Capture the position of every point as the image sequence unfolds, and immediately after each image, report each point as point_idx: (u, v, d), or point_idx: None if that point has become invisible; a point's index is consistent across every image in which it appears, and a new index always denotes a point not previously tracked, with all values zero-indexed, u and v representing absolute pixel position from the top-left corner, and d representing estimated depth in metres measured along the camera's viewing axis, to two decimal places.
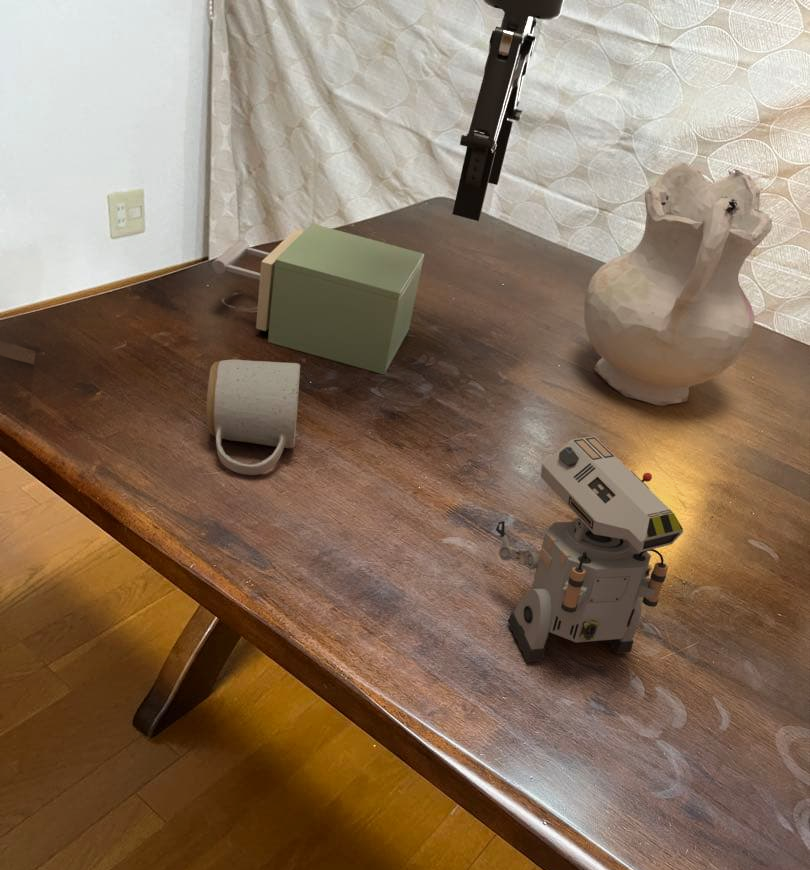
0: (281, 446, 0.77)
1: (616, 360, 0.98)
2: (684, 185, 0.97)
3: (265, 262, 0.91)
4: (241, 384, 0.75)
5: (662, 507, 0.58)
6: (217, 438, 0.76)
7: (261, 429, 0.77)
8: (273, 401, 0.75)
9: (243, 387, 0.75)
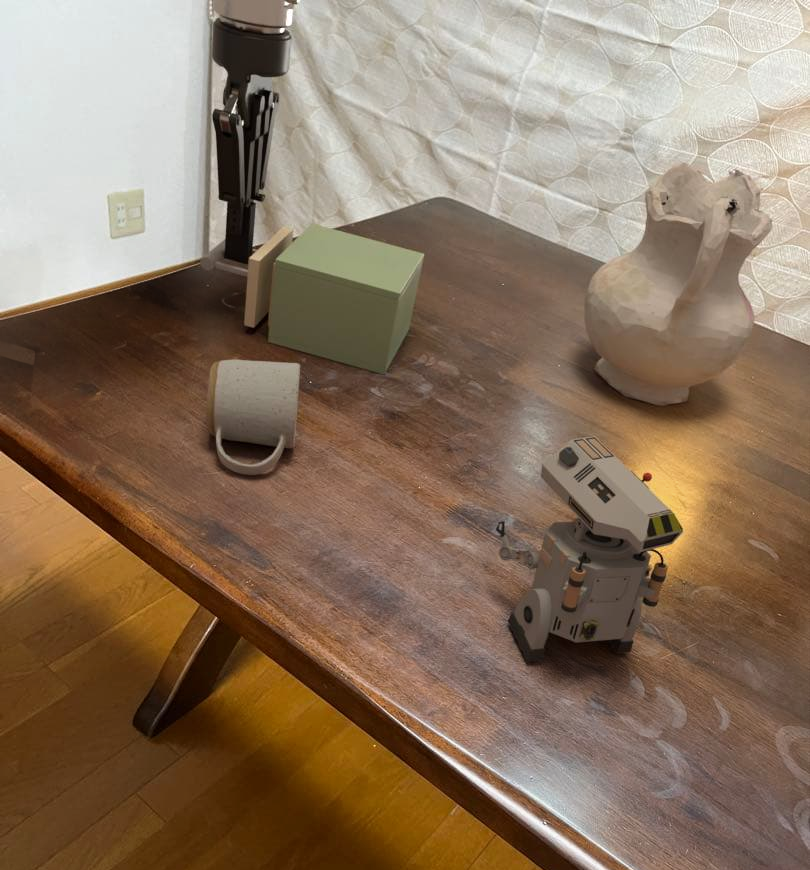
0: (281, 446, 0.77)
1: (616, 360, 0.98)
2: (685, 185, 0.97)
3: (253, 259, 0.91)
4: (241, 384, 0.75)
5: (662, 507, 0.58)
6: (217, 438, 0.76)
7: (261, 429, 0.77)
8: (273, 401, 0.75)
9: (243, 387, 0.75)
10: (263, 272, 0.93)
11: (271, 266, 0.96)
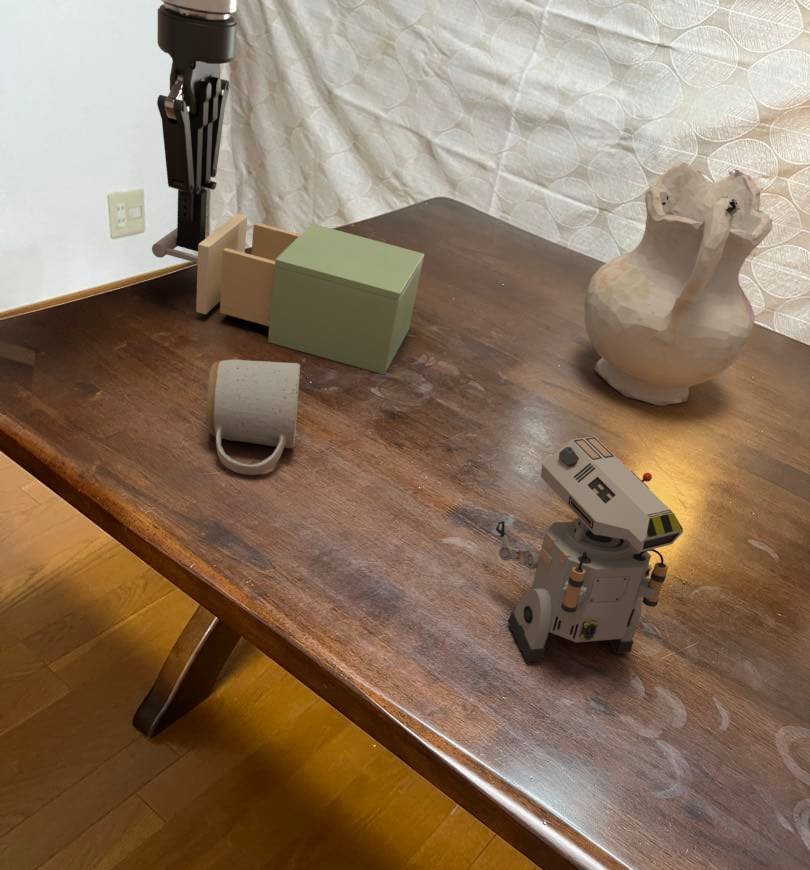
0: (281, 446, 0.77)
1: (616, 360, 0.98)
2: (685, 185, 0.97)
3: (202, 245, 0.92)
4: (241, 384, 0.75)
5: (662, 507, 0.58)
6: (217, 438, 0.76)
7: (261, 429, 0.77)
8: (273, 401, 0.75)
9: (243, 387, 0.75)
10: (213, 258, 0.94)
11: (223, 253, 0.96)
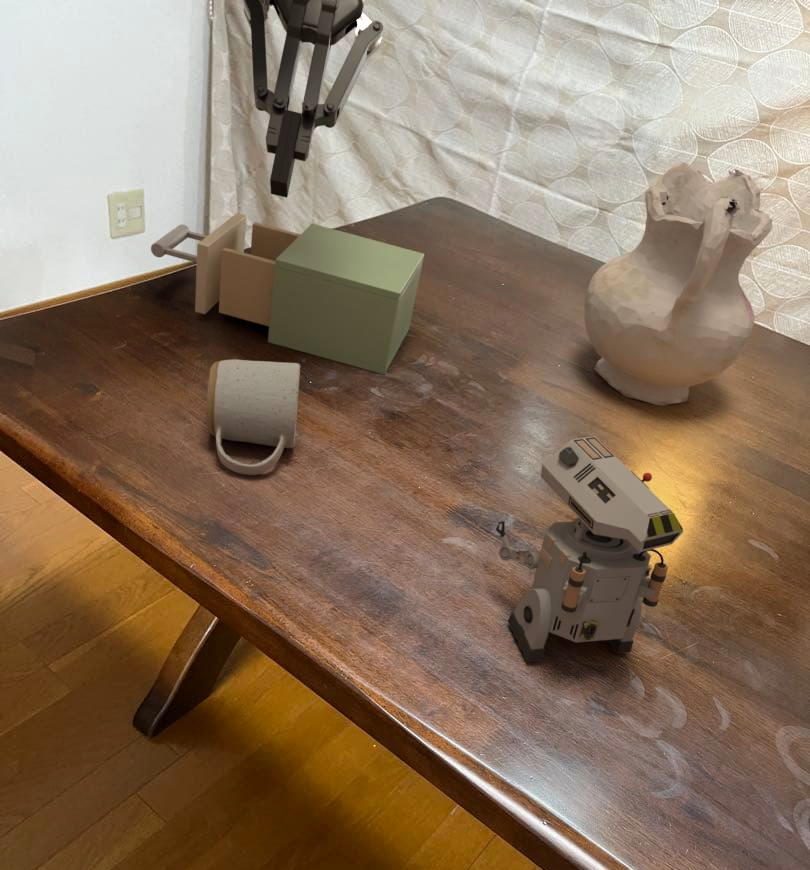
0: (281, 446, 0.77)
1: (616, 360, 0.98)
2: (685, 185, 0.97)
3: (201, 244, 0.92)
4: (241, 384, 0.75)
5: (662, 507, 0.58)
6: (217, 438, 0.76)
7: (261, 429, 0.77)
8: (273, 401, 0.75)
9: (243, 387, 0.75)
10: (212, 258, 0.94)
11: (222, 252, 0.96)
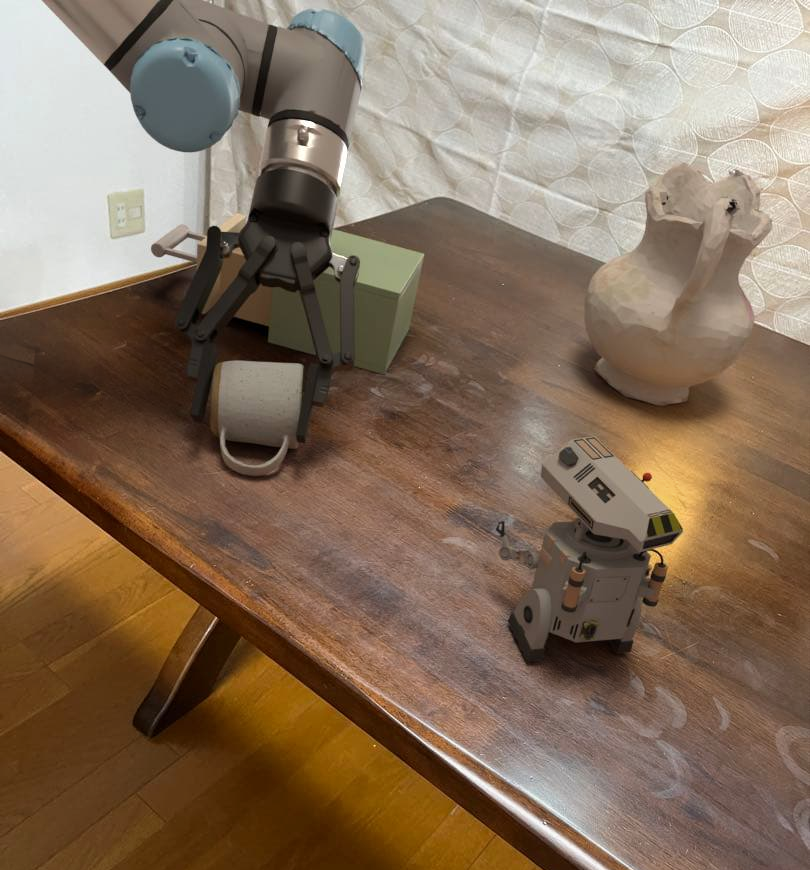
0: (285, 447, 0.77)
1: (616, 360, 0.98)
2: (685, 185, 0.97)
3: (201, 244, 0.92)
4: (245, 385, 0.75)
5: (662, 507, 0.58)
6: (221, 439, 0.76)
7: (265, 430, 0.77)
8: (277, 401, 0.76)
9: (247, 388, 0.75)
10: None
11: None
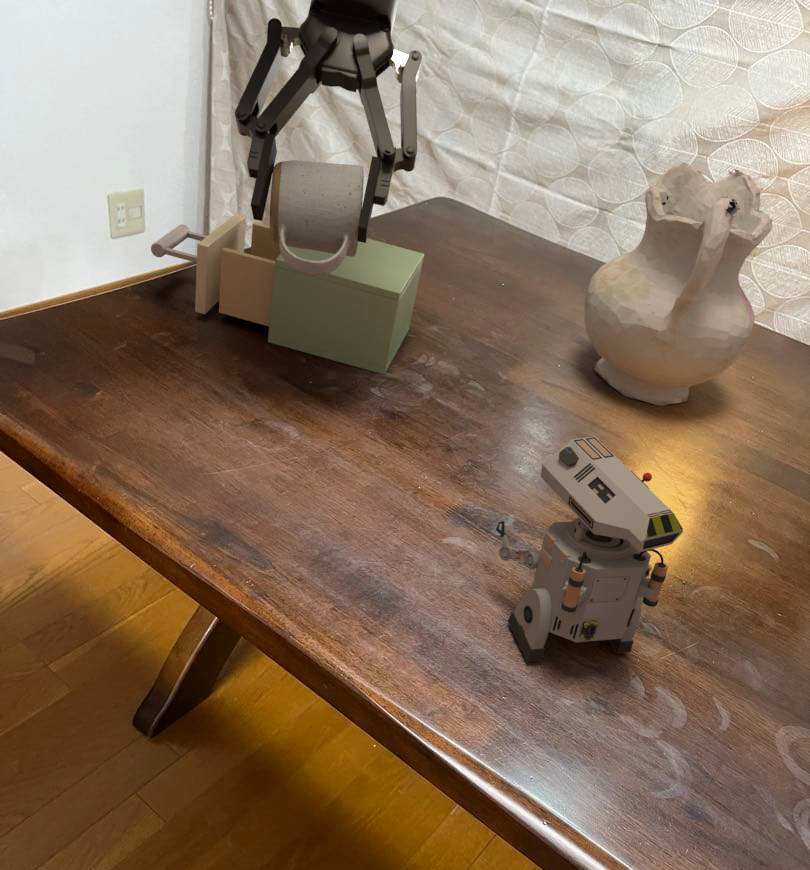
0: (346, 246, 0.75)
1: (616, 360, 0.98)
2: (685, 185, 0.97)
3: (201, 244, 0.92)
4: (306, 180, 0.74)
5: (662, 507, 0.58)
6: (281, 236, 0.75)
7: (325, 228, 0.75)
8: (338, 196, 0.74)
9: (308, 182, 0.74)
10: (212, 258, 0.94)
11: (222, 252, 0.96)
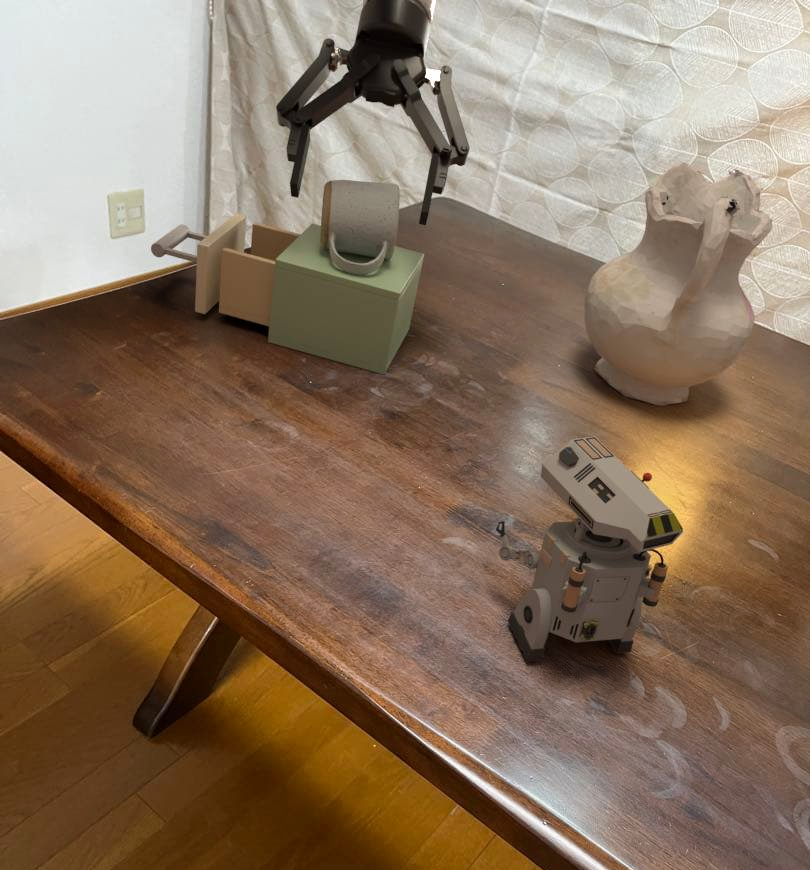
0: (385, 250, 0.91)
1: (616, 360, 0.98)
2: (685, 185, 0.97)
3: (201, 244, 0.92)
4: (352, 196, 0.90)
5: (662, 507, 0.58)
6: (332, 243, 0.90)
7: (368, 236, 0.91)
8: (379, 210, 0.90)
9: (354, 198, 0.90)
10: (212, 258, 0.94)
11: (222, 252, 0.96)
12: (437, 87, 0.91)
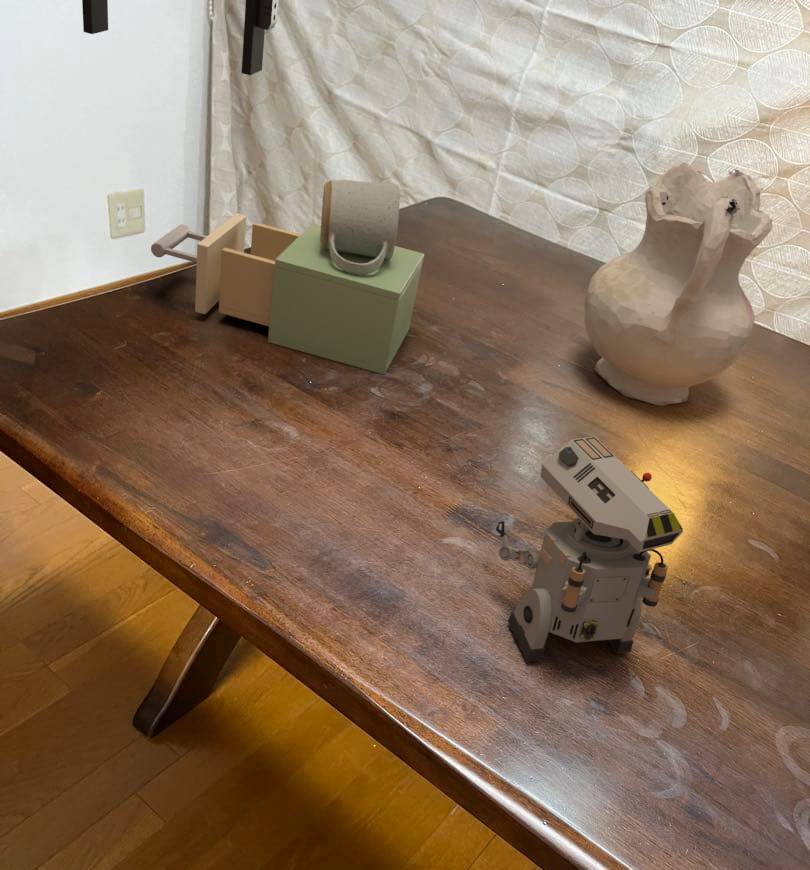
0: (385, 250, 0.91)
1: (616, 360, 0.98)
2: (685, 185, 0.97)
3: (201, 244, 0.92)
4: (352, 196, 0.90)
5: (662, 507, 0.58)
6: (332, 243, 0.90)
7: (368, 236, 0.91)
8: (379, 210, 0.90)
9: (354, 198, 0.90)
10: (212, 258, 0.94)
11: (222, 252, 0.96)
12: None
